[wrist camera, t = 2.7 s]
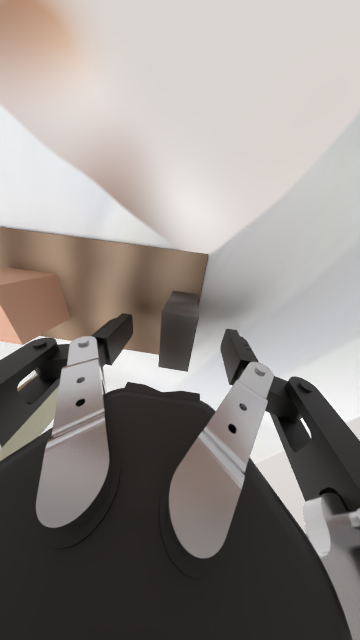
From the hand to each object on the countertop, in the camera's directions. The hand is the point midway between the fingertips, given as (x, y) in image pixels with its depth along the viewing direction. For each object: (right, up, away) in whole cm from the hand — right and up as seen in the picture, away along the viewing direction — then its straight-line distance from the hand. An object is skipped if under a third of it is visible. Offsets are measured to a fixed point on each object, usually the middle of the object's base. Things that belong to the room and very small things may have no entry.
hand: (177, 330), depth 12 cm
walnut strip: (-10, +3, +4) cm, 11 cm away
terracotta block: (-15, +4, +3) cm, 16 cm away
